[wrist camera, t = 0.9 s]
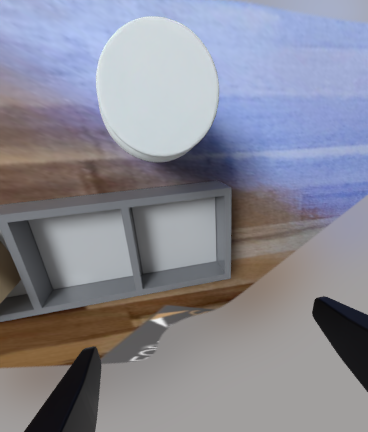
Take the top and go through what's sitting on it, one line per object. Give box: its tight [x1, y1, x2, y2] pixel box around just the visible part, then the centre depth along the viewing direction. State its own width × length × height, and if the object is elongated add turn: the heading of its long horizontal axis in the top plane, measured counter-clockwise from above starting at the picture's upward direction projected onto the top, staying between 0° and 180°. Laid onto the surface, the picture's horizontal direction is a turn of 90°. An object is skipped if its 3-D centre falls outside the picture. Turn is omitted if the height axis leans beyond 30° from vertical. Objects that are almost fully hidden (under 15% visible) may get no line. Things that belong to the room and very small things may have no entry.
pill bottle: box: [96, 17, 219, 162], centre depth 10 cm, size 5×5×8 cm
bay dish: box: [0, 181, 232, 322], centre depth 15 cm, size 22×8×3 cm, turn 93°
